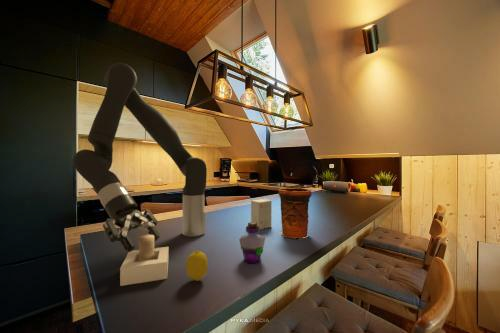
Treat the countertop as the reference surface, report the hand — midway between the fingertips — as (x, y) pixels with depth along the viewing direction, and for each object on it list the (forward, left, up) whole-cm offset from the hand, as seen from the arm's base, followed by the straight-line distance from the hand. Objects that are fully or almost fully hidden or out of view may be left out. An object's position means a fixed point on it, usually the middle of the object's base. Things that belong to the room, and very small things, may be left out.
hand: (145, 244), depth 61 cm
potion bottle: (-31, +3, -8) cm, 33 cm away
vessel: (-57, -15, -8) cm, 60 cm away
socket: (0, +1, -8) cm, 8 cm away
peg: (0, +1, -8) cm, 8 cm away
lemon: (-13, +10, -8) cm, 18 cm away
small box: (-47, -29, -8) cm, 56 cm away
